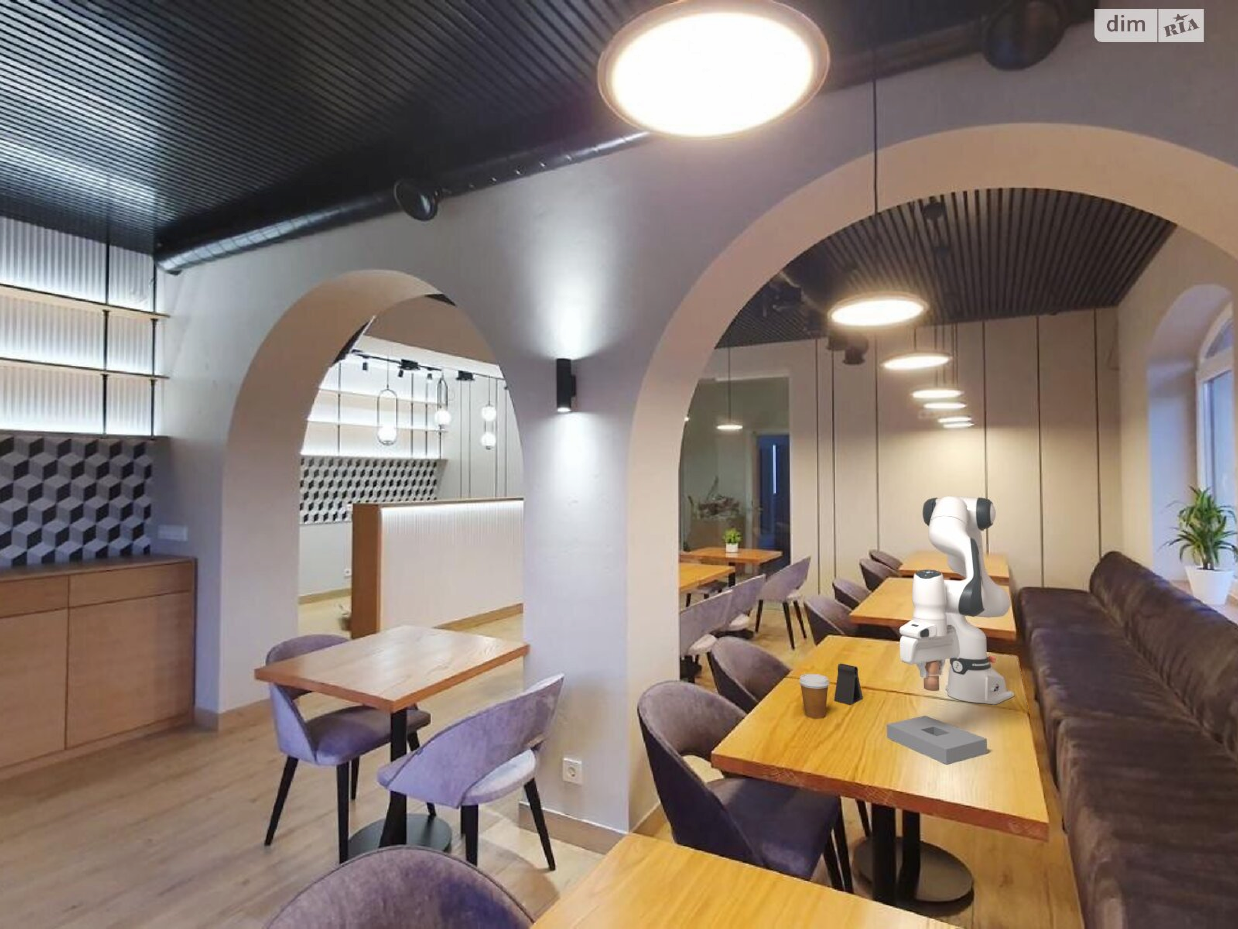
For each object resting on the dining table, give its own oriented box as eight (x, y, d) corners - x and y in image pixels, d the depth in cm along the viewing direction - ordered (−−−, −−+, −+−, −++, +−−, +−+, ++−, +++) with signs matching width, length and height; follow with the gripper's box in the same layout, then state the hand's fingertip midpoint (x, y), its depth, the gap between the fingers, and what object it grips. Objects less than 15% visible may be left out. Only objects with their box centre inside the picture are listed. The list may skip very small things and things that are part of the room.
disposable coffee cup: (826, 722, 201) (825, 684, 201) (796, 717, 206) (795, 679, 206) (833, 713, 209) (832, 676, 209) (804, 708, 214) (803, 672, 214)
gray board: (926, 728, 194) (925, 715, 194) (987, 753, 176) (986, 738, 176) (887, 738, 188) (886, 724, 188) (946, 764, 169) (946, 749, 170)
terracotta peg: (930, 686, 185) (929, 658, 186) (942, 690, 182) (942, 661, 182) (920, 687, 184) (919, 659, 184) (932, 691, 180) (931, 663, 180)
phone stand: (850, 705, 215) (849, 669, 216) (834, 701, 220) (833, 666, 220) (863, 699, 222) (862, 664, 222) (846, 695, 226) (845, 661, 226)
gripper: (945, 622, 190) (947, 668, 190) (895, 628, 182) (896, 677, 182) (964, 626, 185) (966, 674, 184) (913, 633, 176) (914, 683, 176)
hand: (931, 676), depth 183 cm, fingers closed on terracotta peg, 4 cm apart
